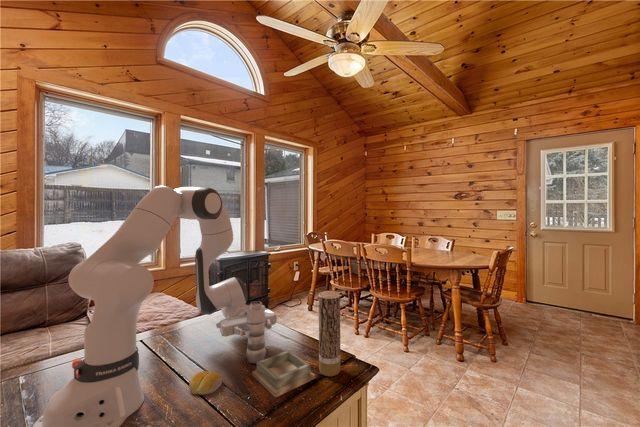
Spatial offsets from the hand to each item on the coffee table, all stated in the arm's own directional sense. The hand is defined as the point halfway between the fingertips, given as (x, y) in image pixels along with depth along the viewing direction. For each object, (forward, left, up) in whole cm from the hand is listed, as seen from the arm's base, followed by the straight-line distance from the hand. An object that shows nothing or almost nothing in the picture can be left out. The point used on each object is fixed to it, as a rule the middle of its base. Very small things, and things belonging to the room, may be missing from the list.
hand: (256, 330), depth 98 cm
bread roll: (-18, -3, -12) cm, 21 cm away
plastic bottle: (0, +1, -11) cm, 11 cm away
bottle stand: (+2, -13, -11) cm, 17 cm away
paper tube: (+15, -20, -11) cm, 28 cm away
